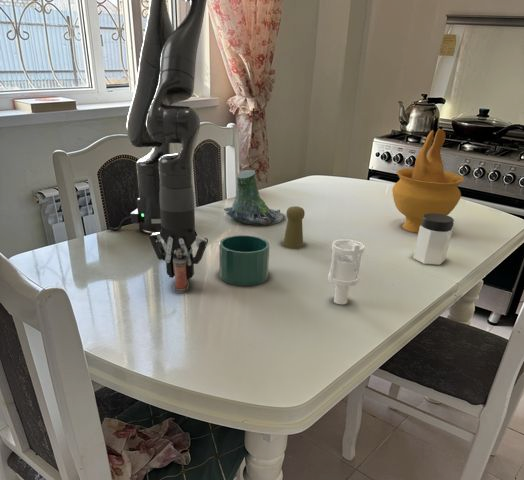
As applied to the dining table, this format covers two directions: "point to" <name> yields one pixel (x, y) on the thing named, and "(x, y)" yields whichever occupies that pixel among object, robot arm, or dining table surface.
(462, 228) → the dining table surface
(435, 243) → the jar
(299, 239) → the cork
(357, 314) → the dining table surface
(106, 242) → the dining table surface
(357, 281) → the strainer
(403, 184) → the decorative bowl
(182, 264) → the lighter
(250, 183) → the tree stump
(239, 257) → the ceramic cup
